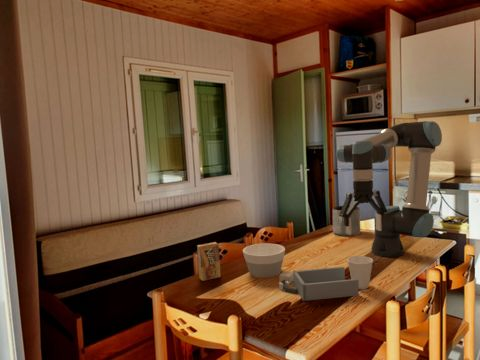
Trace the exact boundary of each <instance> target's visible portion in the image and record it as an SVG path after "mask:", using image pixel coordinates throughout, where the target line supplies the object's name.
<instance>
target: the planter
mask: <svg viewBox="0 0 480 360" xmlns="http://www.w3.org/2000/svg"><path fill="white" fill-rule="evenodd" d="M342 207H343V205H337V206H334V207H332V232H333V234H335V235H338V236H341V237H342V236H344V237H352V236H358V235H359V234H360V233H361V215H360V214H361V213H360V212H361V209H360V208H361V207H359V206H357V207H356V208H355V210H354V211H353V213H352V214H351V216H350V217H349V218H351V233H352V235H349V234H347V233H346V226H345V225H344V217H341V216H340V215H339V214H340V212H341V209H342ZM349 207H350V206H349Z"/></svg>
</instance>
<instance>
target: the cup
mask: <svg viewBox="0 0 480 360" xmlns="http://www.w3.org/2000/svg"><path fill="white" fill-rule="evenodd" d="M346 261H347V264H348V269H349V273H350V279H358V284H359V290H367V289H368V288H369V287H370V281H371V274H372V269H373V263H374V259H373V258H371V257H369V256H365V255H362V256H361V255H353V256H350V257H348V258H347V259H346Z"/></svg>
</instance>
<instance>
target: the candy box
mask: <svg viewBox="0 0 480 360" xmlns="http://www.w3.org/2000/svg"><path fill="white" fill-rule="evenodd" d="M219 245H220V244H219V243H217V242H216V241H214V242H209V243H203V244H198V245H196V248H197V250H196V251H197V265H198V266H197V267H198V276H199V277H198V279H199V280H201V281H208V280H212V279H217V278H221V264H220V263H221V262H220V247H219Z"/></svg>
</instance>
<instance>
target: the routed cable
mask: <svg viewBox="0 0 480 360" xmlns="http://www.w3.org/2000/svg"><path fill="white" fill-rule="evenodd" d="M285 281H287V280H283V281H282V282H281V283H283V291H285V292H287V293H291V294H298V289H296V288H295V287H291V286H290V287H288V286H287V285H286V284H285Z"/></svg>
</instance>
